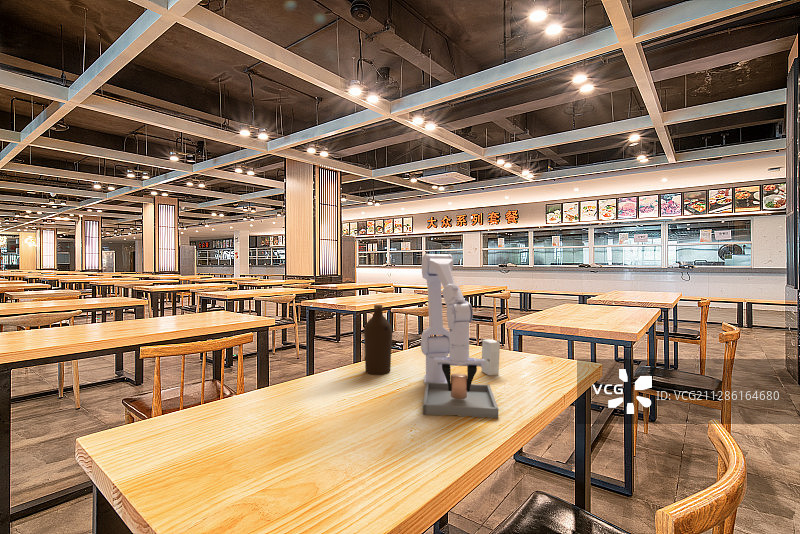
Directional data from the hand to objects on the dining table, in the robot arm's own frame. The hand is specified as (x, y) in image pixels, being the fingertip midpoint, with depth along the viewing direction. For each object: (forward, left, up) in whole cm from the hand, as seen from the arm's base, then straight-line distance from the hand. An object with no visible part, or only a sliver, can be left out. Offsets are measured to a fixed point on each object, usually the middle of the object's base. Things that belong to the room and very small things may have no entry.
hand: (458, 390), depth 114 cm
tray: (0, 0, -4) cm, 4 cm away
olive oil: (-29, -29, -4) cm, 41 cm away
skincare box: (-32, +13, -4) cm, 35 cm away
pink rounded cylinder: (0, 0, -2) cm, 2 cm away
